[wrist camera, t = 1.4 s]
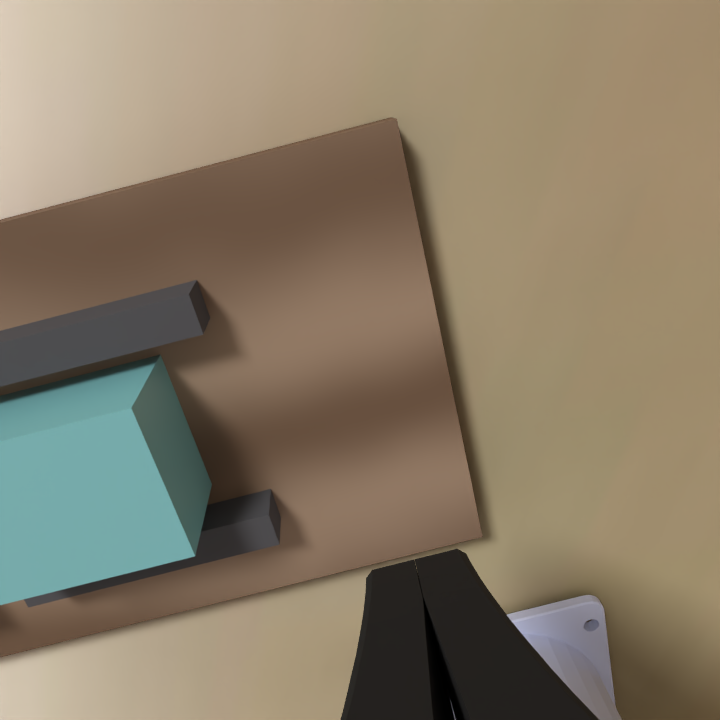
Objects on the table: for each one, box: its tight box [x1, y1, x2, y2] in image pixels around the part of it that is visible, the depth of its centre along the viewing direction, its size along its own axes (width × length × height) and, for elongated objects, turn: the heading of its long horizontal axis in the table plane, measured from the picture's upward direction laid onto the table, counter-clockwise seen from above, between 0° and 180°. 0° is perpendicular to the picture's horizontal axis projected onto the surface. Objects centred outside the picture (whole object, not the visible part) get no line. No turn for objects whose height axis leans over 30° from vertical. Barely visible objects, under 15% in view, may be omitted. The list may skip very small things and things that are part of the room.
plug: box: [0, 355, 212, 605], centre depth 16 cm, size 4×5×3 cm
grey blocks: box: [0, 280, 281, 608], centre depth 17 cm, size 7×7×1 cm
